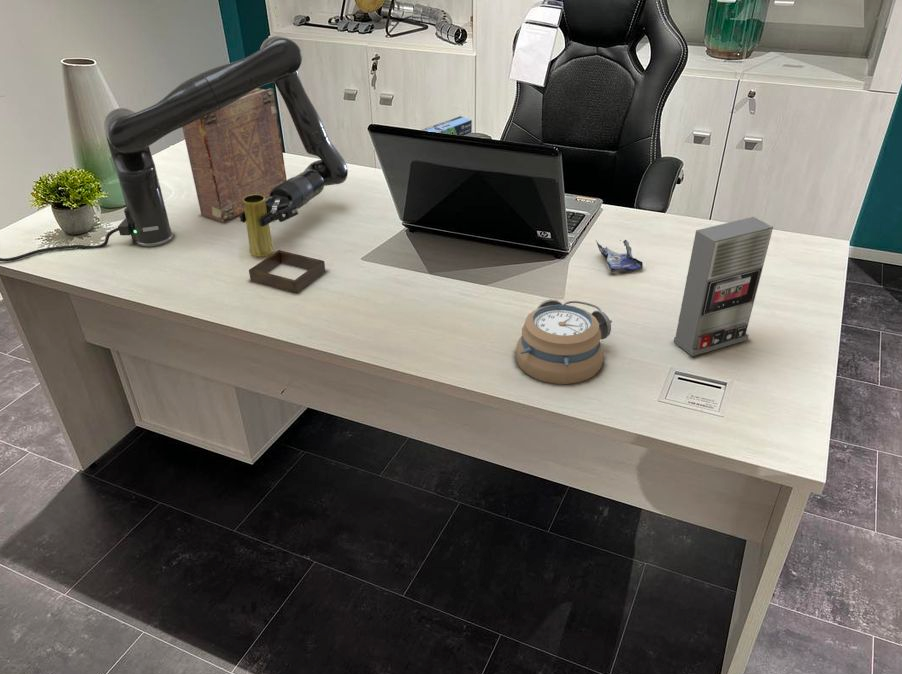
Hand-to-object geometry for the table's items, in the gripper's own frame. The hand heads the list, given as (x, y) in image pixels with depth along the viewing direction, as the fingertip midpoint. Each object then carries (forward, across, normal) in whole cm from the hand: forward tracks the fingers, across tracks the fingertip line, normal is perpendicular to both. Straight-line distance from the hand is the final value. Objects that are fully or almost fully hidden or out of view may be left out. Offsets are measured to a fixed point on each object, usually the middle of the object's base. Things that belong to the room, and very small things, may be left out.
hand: (250, 220), depth 185 cm
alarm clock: (+6, +83, +10) cm, 84 cm away
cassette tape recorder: (-10, +109, +11) cm, 110 cm away
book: (-25, -24, +10) cm, 37 cm away
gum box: (-46, +28, +11) cm, 55 cm away
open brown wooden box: (+5, +13, +10) cm, 17 cm away
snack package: (-35, +82, +11) cm, 89 cm away
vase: (-2, 0, +10) cm, 10 cm away
